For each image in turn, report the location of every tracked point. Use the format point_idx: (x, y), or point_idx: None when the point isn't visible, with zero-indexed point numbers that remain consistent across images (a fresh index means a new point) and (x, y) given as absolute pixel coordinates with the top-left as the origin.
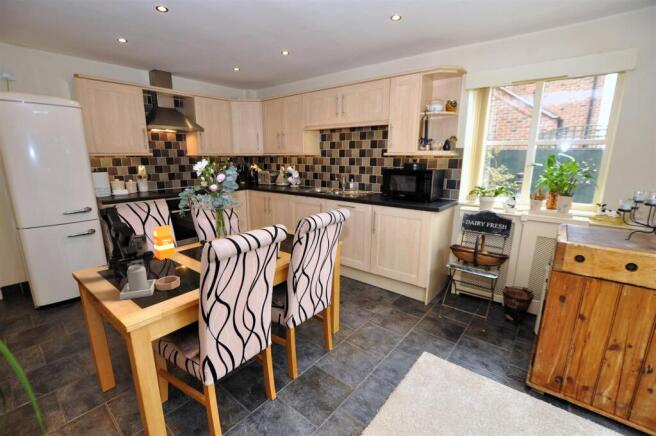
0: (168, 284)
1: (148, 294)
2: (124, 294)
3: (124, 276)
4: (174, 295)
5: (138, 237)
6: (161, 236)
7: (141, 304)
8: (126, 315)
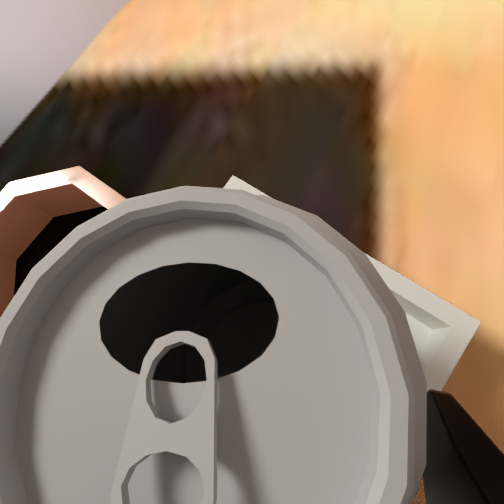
0: (96, 179)
1: None
2: (432, 299)
3: (462, 425)
4: (163, 93)
5: None
6: None
7: (358, 125)
8: (487, 51)
